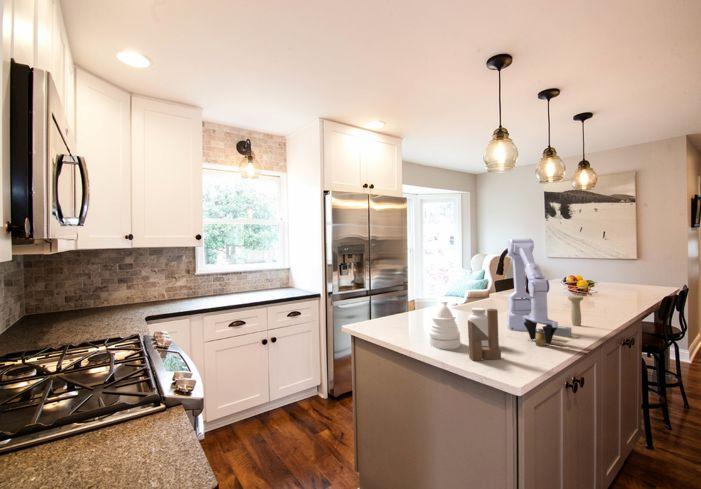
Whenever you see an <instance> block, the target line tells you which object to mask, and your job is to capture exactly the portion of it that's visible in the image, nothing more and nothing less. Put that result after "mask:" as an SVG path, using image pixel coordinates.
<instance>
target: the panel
mask: <svg viewBox="0 0 701 489" xmlns="http://www.w3.org/2000/svg"><path fill="white" fill-rule="evenodd" d="M571 333H572V336H571V337H569V338H567V337H561V336H554V335H553V337H552V341H551V344H548V345H549V346H550V345H551V346H554V347H555V346H556V347H561V348H565V347H566V346H565V344H566V343H569V342H571V341H573V340H574V339H576V338H578V337H580V336H581V334H580V333H579V334H578V333H573V332H571ZM531 342H535V343H536V338H535V339H533V340H531ZM545 345H547V344H546V342H545Z"/></svg>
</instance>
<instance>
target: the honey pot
mask: <svg viewBox="0 0 701 489" xmlns="http://www.w3.org/2000/svg"><path fill="white" fill-rule="evenodd" d="M440 303H441V305H440V306H439V307H438V308H437V309H436V311H435V313H434V314H433V315H431V317H430V318H431V319H432V322H431V323H430V327H429V328H430V329H429V330H428V343H429V344H430V345H431V346H430V345H429V344H428V345H429V346H430V347H432V346H433V347H432V348H435V347H436V348H435V349H440V348H442V349H441V350H454V349H457V347H458V348H460V347H461V332H460V331H459V327H458V324H457V322H456V316H455V315H453V313H452V311H451V309H449V308H448V307H449V306H447V305H448V301H447V300H441V302H440ZM459 346H460V347H459ZM451 348H452V349H451ZM453 348H454V349H453Z"/></svg>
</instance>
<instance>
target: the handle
mask: <svg viewBox="0 0 701 489" xmlns="http://www.w3.org/2000/svg"><path fill="white" fill-rule="evenodd" d="M567 298H568V300H569V301H570V302H571V324H572V326H575V327H581V326H582V310H581V301H583V300H584V297H583V296H581V295H570V296H569V295H568V297H567Z"/></svg>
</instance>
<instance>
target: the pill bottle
mask: <svg viewBox="0 0 701 489" xmlns="http://www.w3.org/2000/svg"><path fill="white" fill-rule="evenodd" d="M468 320H469V321H471V322H473V323H474V324H475V325H476V326H477V327H478V328H479V329H480V330H481V331H482V332H483V333H484V334H485V335H487V336H488V322H487V314H486V309H485V308H484V307H472V308H471V314H470V315H469V316H468ZM483 347H488V340H485V341H482V348H483Z"/></svg>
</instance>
